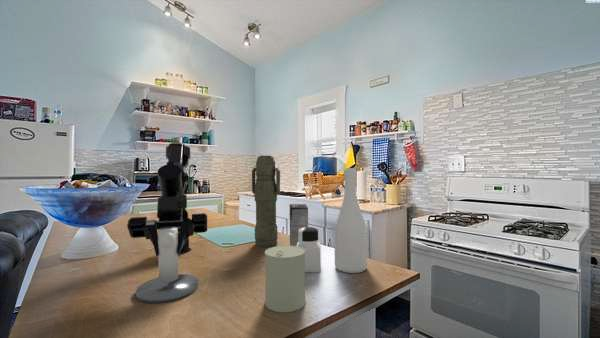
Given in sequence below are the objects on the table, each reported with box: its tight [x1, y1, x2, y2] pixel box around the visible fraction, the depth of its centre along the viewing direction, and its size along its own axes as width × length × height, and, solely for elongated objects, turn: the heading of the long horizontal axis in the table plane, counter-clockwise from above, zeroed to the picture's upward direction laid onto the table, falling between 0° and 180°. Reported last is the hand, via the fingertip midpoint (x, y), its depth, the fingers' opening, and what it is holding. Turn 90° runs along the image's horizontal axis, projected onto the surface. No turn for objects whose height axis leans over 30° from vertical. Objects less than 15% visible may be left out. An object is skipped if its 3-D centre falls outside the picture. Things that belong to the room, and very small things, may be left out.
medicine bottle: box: [296, 226, 322, 273], centre depth 84 cm, size 7×7×12 cm
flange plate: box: [135, 273, 199, 304], centre depth 70 cm, size 14×14×1 cm
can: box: [264, 245, 307, 313], centre depth 63 cm, size 9×9×12 cm
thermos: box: [251, 155, 281, 249], centre depth 110 cm, size 9×12×35 cm
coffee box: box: [289, 203, 309, 246], centre depth 105 cm, size 9×6×16 cm
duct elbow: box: [157, 227, 179, 283], centre depth 68 cm, size 7×4×12 cm, turn 20°
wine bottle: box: [333, 167, 368, 274], centre depth 84 cm, size 10×10×30 cm
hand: (167, 254), depth 69 cm, fingers closed on duct elbow, 4 cm apart
